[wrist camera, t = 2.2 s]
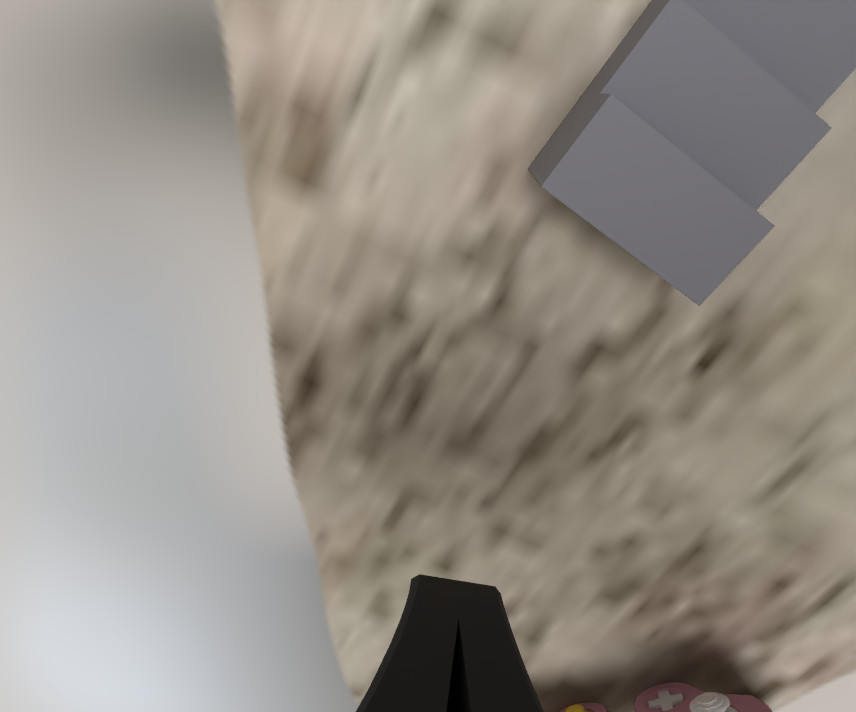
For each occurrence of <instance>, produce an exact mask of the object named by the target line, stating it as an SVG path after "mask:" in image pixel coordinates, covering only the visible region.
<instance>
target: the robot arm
mask: <svg viewBox="0 0 856 712" xmlns="http://www.w3.org/2000/svg"><path fill="white" fill-rule="evenodd" d="M356 712H544V711H543V708H542V706H541V704H540V701H539V699H538V697H537V694H536V692H535V690H534V688H533V685H532V683H531V680H530V678H529V675H528V673H527V670H526V668H525V665H524V663H523V660H522V657H521V655H520V652H519V649H518V647H517V644H516V641H515V639H514V636H513V633H512V630H511V627H510V624H509V621H508V618H507V615H506V611H505V608H504V605H503V601H502V597H501V593H500V592H499V591H498V590H497V588H496V587H494V586H488V585H482V584H476V583H470V582H463V581H457V580H451V579H445V578H438V577H432V576H426V575H418V576H416V577H414V578H412V579H411V585H410V590H409V595H408V598H407V602H406V605H405V608H404V611H403V614H402V617H401V619H400V622H399V624H398V627H397V629H396V632H395V634H394V637H393V639H392V642H391V644H390V646H389V648H388V650H387V652H386V654H385V656H384V658H383V661H382V663H381V665H380V667H379V669H378V671H377V673H376V675H375V677H374V679H373V681H372V683H371V685H370V687H369V689H368V691H367V693H366V695H365V696H364V698H363V700H362V702H361V704H360V705H359V707H358V709H357V711H356Z"/></svg>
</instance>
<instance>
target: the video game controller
mask: <svg viewBox="0 0 856 712" xmlns="http://www.w3.org/2000/svg"><path fill="white" fill-rule="evenodd" d="M634 709H635V712H772V710H771V709H770V708H769V707H768V705H766V704H765V703H764V702H762V701H761V700H759V699H757V698H756V697H754V696H752V695H736V694H720V693H715V692H707V693H706V692H702V691H700V690H698V689H696V688H694V687H692V686H690V685H688V684H685V683H681V682H668V683H663V684H659V685H655V686H652V687H650V688H648V689H645V690H644V691H643V692H642V693H641V694H639V695H638V696H637V697H636V700H635V703H634ZM559 712H607V709H606V708H605V706H603V705H602V704H599V703H595V702H585V703H578V704H574V705H571V706H567V707H565V708H564V709H562V710H560V711H559Z"/></svg>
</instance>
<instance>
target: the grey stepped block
mask: <svg viewBox="0 0 856 712" xmlns="http://www.w3.org/2000/svg"><path fill="white" fill-rule="evenodd" d="M855 68H856V0H652V1H651V3H650V4H649V5H648V7H647V8H646V9H645V11H644V12H643V13H642V15H641V16H640V17H639V19H638V20H637V22H636V23H635V24H634V26H633V27H632V28H631V30H630V31H629V32H628V34H627V35H626V36H625V38H624V39H623V40H622V42H621V43H620V44H619V46H618V47H617V49H616V50H615V51H614V53H613V54H612V55H611V57H610V58H609V59H608V61H607V62H606V63H605V65H604V66H603V67H602V69H601V70H600V72H599V73H598V74H597V76H596V77H595V78H594V80H593V81H592V82H591V84H590V85H589V86H588V88H587V89H586V90H585V92H584V93H583V95H582V96H581V97H580V99H579V100H578V101H577V103H576V104H575V105H574V107H573V108H572V109H571V111H570V112H569V113H568V115H567V116H566V118H565V119H564V120H563V122H562V123H561V124H560V126H559V127H558V128H557V130H556V131H555V132H554V134H553V135H552V136H551V138H550V139H549V141H548V142H547V143H546V145H545V146H544V147H543V149H542V150H541V151H540V153H539V154H538V155H537V157H536V158H535V159H534V161H533V162H532V164H531V165H530V166H529V168H528V169H529V171H530V172H531V174H532V175H533V176H534V178H535V179H536V181H537V182H538V183H539V185H540V186H541V187H542V188H543V189H544V190H546V191H547V192H548V193H550V194H551V195H552V196H554V197H555V198H556V199H558V200H559V201H560V202H562V203H563V204H564V205H566V206H567V207H568V208H570V209H571V210H572V211H574V212H575V213H576V214H578V215H579V216H580V217H582V218H583V219H584V220H586V221H587V222H588V223H590V224H591V225H592V226H594V227H595V228H596V229H598V230H599V231H600V232H602V233H603V234H604V235H606V236H607V237H608V238H610V239H611V240H612V241H614V242H615V243H616V244H618V245H619V246H620V247H622V248H623V249H624V250H626V251H627V252H628V253H629V254H631V255H632V256H633V257H635V258H636V259H637V260H639V261H640V262H641V263H643V264H644V265H645V266H647V267H648V268H649V269H651V270H652V271H653V272H655V273H656V274H657V275H659V276H660V277H661V278H663V279H664V280H665V281H667V282H668V283H669V284H671V285H672V286H673V287H675V288H676V289H677V290H679V291H680V292H681V293H683V294H684V295H685V296H687V297H688V298H689V299H691V300H692V301H693V302H695V303H696V304H697V305H699V306H700V305H701V304H702V303H703V302H704V301H705V299H706V298H707V297H708V296H709V295H710V294H711V293H712V292H713V291H714V290H715V289H716V288H717V287H718V286H719V285H720V284H721V282H722V281H723V280H724V279H725V278H726V277H727V276H728V275H729V274H730V273H731V272H732V271H733V270H734V269H735V268H736V266H737V265H738V264H739V263H740V262H741V261H742V260H743V259H744V258H745V257H746V256H747V255H748V254H749V253H750V252H751V251H752V249H753V248H754V247H755V246H756V245H757V244H758V243H759V242H760V241H761V240H762V239H763V238H764V237H765V236H766V235H767V234H768V232H769V231H770V230H771V229H772V228H773V227H774V225H773V224H772V223H770V222H769V221H768V220H767V219H765V218H764V217H763V216H762V215H760V214H759V213H758V212H757V211H756V210H757V209H758V208H759V207H760V205H761V204H762V203H763V202H764V201H765V200H766V199H767V198H768V197H769V196H770V195H771V193H772V192H773V191H774V190H775V189H776V188H777V187H778V186H779V185H780V184H781V183H782V181H783V180H784V179H785V178H786V177H787V176H788V175H789V174H790V173H791V172H792V171H793V169H794V168H795V167H796V166H797V165H798V164H799V163H800V162H801V161H802V160H803V159H804V157H805V156H806V155H807V154H808V153H809V152H810V151H811V150H812V149H813V148H814V147H815V145H816V144H817V143H818V142H819V141H820V140H821V139H822V138H823V137H824V136H825V135H826V133H827V132H828V131H829V130H830V129H831V127H830V126H829V125H828V124H827V123H825V122H824V121H823V120H822V119H821V118H820V117H818V116H817V115H816V114H815V113H816V112H817V110H818V109H819V108H820V107H821V106H822V105H823V104H824V103H825V102H826V100H827V99H828V98H829V97H830V96H831V95H832V94H833V93H834V92H835V90H836V89H837V88H838V87H839V86H840V85H841V84H842V83H843V82H844V80H845V79H846V78H847V77H848V76H849V75H850V74H851V73H852V71H853V70H854V69H855Z"/></svg>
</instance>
